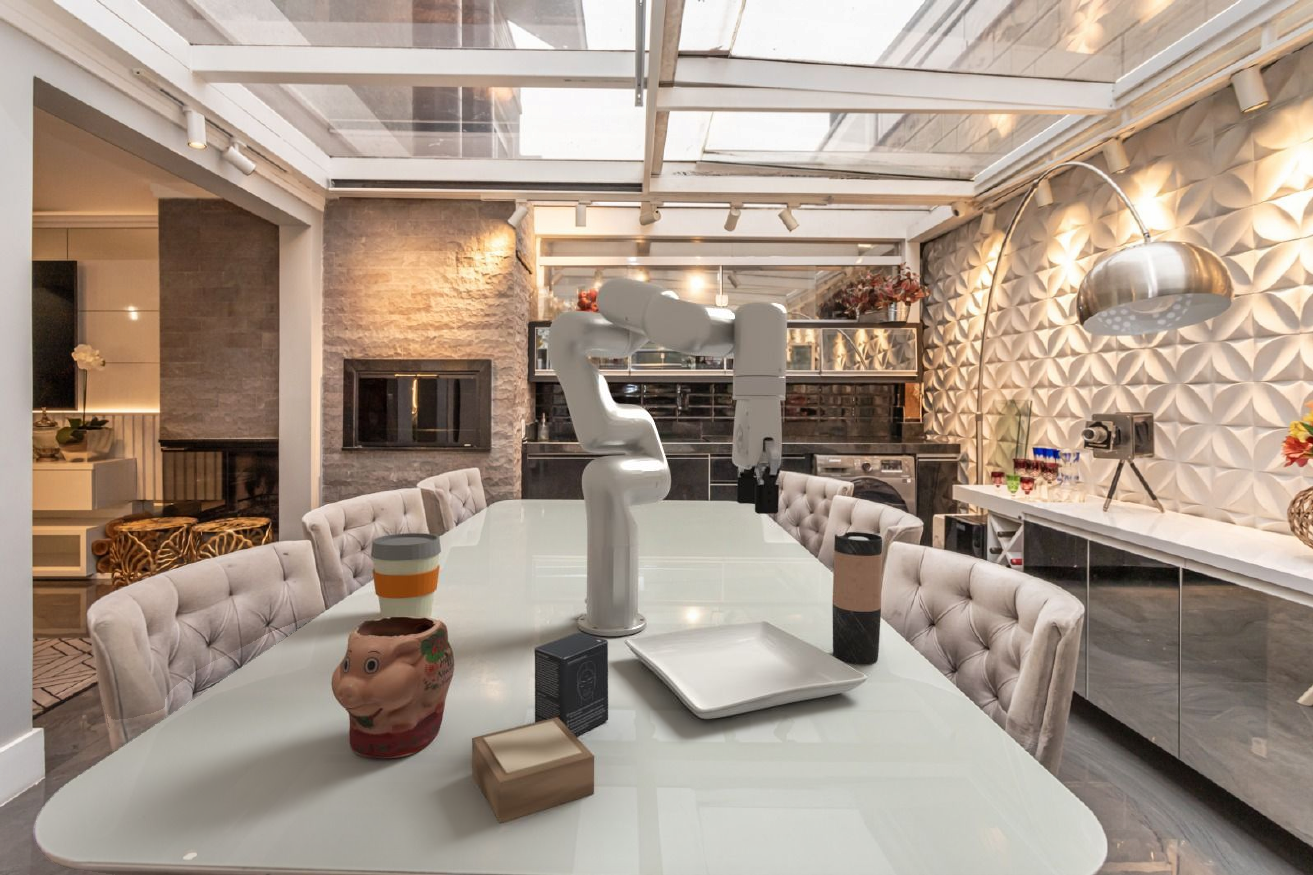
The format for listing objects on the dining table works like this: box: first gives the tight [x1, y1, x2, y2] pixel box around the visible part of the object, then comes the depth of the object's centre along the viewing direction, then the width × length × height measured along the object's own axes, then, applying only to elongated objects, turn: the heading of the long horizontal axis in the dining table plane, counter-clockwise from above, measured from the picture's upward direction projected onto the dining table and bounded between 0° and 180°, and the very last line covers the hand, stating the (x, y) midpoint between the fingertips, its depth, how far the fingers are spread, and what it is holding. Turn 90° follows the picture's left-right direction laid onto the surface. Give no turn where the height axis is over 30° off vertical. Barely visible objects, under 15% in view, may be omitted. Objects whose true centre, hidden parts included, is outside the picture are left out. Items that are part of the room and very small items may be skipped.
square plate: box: [624, 620, 868, 720], centre depth 100 cm, size 27×27×4 cm
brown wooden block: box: [471, 717, 595, 824], centre depth 70 cm, size 10×10×4 cm
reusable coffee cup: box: [370, 532, 442, 619], centre depth 126 cm, size 13×12×15 cm
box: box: [534, 631, 609, 737], centre depth 83 cm, size 8×6×11 cm
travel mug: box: [832, 531, 883, 666], centre depth 108 cm, size 8×8×20 cm
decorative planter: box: [331, 616, 455, 759], centre depth 81 cm, size 20×12×14 cm, turn 173°
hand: (756, 508), depth 96 cm, fingers open, 9 cm apart
